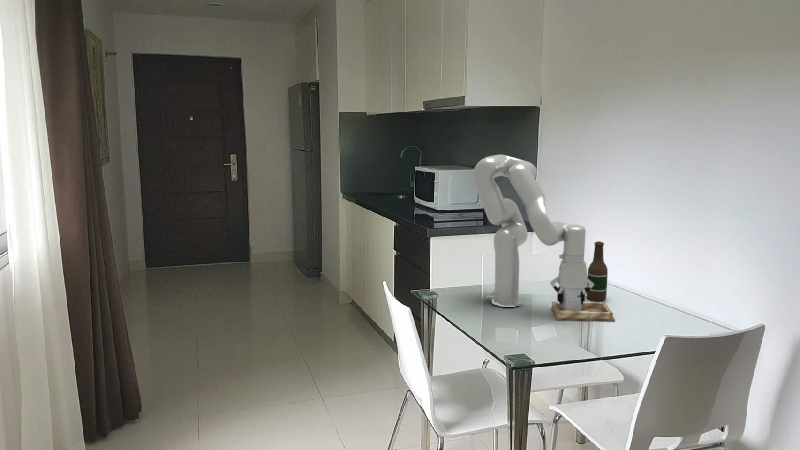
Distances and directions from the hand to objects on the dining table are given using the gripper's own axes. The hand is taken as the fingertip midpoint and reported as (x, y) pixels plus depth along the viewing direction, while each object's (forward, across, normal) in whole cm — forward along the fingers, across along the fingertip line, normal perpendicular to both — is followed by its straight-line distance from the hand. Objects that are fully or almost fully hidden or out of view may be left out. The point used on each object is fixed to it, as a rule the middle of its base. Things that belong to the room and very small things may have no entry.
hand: (570, 302), depth 225 cm
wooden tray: (+5, +4, 0) cm, 6 cm away
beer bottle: (+5, +14, +19) cm, 24 cm away
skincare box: (+3, +1, 0) cm, 3 cm away
